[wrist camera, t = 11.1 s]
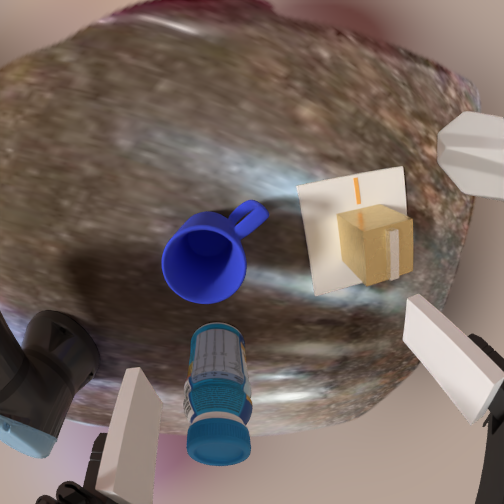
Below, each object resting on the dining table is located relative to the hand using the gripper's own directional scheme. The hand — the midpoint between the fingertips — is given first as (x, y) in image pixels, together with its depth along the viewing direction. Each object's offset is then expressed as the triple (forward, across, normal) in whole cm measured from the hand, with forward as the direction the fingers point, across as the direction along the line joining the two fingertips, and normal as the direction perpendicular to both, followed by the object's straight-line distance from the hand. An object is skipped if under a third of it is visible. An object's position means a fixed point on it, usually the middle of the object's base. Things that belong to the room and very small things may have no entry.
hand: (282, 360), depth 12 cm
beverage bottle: (+26, -8, -18) cm, 32 cm away
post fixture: (+25, +16, -5) cm, 30 cm away
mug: (+26, -3, 0) cm, 26 cm away
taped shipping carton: (+24, +16, -5) cm, 29 cm away
